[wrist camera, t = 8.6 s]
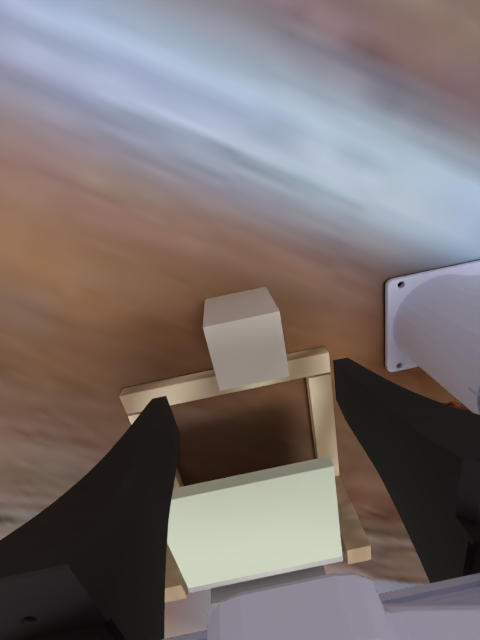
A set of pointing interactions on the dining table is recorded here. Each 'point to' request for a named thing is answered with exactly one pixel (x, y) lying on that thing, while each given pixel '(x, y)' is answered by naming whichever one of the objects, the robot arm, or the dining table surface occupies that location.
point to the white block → (245, 338)
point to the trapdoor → (256, 528)
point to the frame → (323, 427)
